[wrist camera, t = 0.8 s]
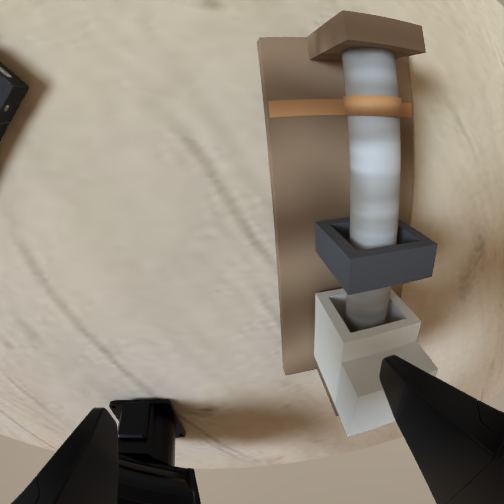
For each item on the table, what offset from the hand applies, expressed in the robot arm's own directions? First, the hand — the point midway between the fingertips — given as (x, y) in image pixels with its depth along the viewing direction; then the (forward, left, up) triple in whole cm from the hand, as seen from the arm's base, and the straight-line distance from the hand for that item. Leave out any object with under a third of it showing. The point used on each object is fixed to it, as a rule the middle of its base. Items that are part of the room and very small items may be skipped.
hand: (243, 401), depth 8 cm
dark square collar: (0, -8, -11) cm, 14 cm away
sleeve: (-7, -8, -11) cm, 16 cm away
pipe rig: (0, -8, -13) cm, 15 cm away
